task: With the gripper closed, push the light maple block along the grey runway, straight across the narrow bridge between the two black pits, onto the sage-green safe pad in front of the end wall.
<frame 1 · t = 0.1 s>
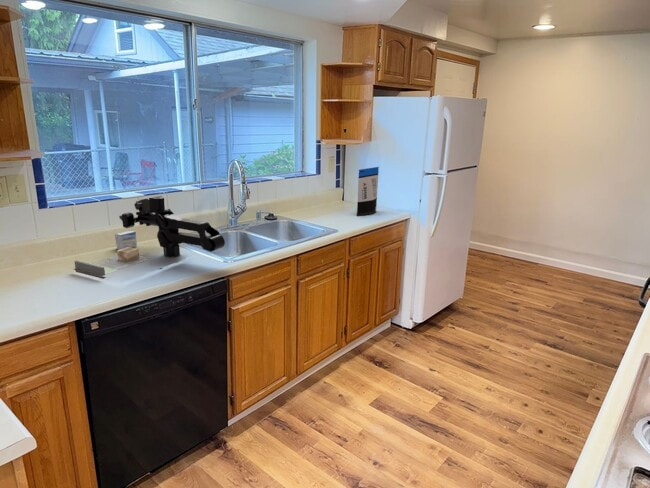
hand: (128, 215, 203), 17 cm above the worktop, tool horizontal, fingers open, 9 cm apart
protein powder: (366, 213, 297), on the worktop
maple block: (128, 258, 190), point 1 cm above the worktop, touching trap runway
medicine box: (127, 251, 206), on the worktop
trap runway: (115, 266, 185), on the worktop
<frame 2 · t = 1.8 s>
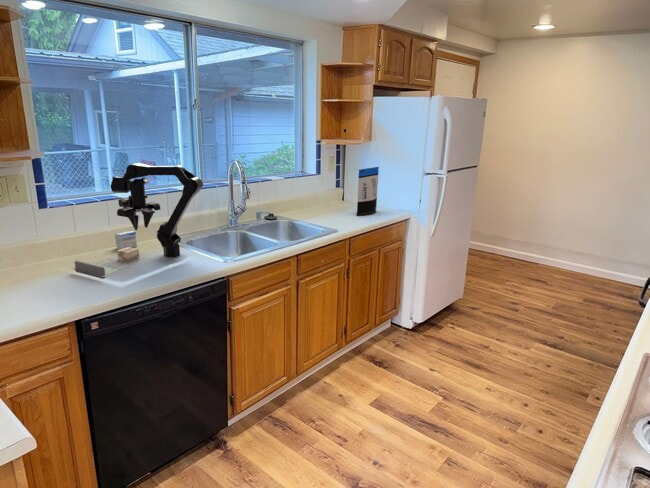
hand: (141, 228, 194), 13 cm above the worktop, tool pointing down, fingers open, 5 cm apart
nothing on the worktop moved.
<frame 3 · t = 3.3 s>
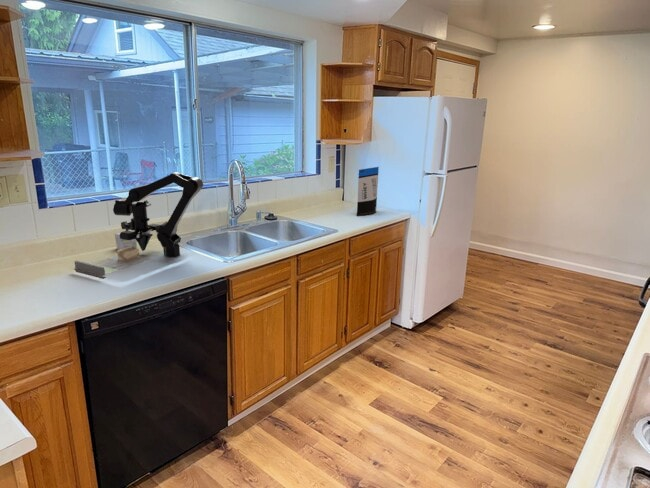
hand: (143, 250, 197), 3 cm above the worktop, tool pointing down, fingers closed
nothing on the worktop moved.
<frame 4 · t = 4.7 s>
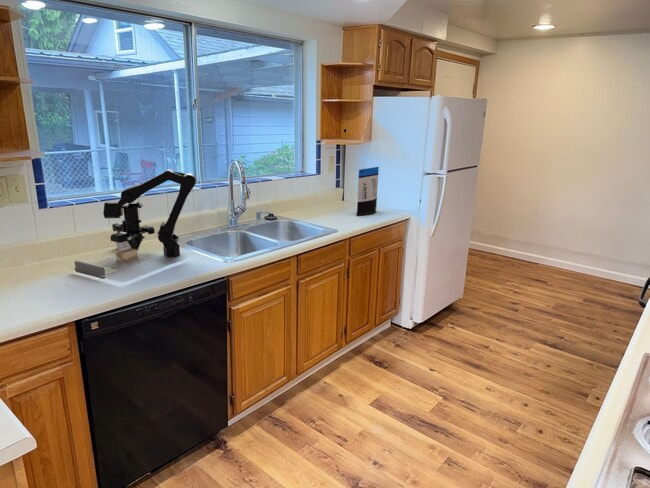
hand: (135, 252, 193), 3 cm above the worktop, tool pointing down, fingers closed
maple block: (127, 259, 189), point 1 cm above the worktop, touching gripper, trap runway
everything else where it was.
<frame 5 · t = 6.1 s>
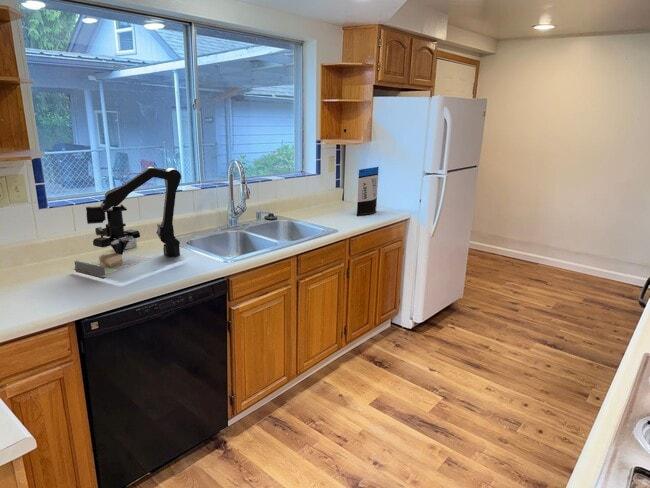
hand: (119, 257, 186), 3 cm above the worktop, tool pointing down, fingers closed
maple block: (111, 264, 182), point 2 cm above the worktop, touching gripper
everything else where it was.
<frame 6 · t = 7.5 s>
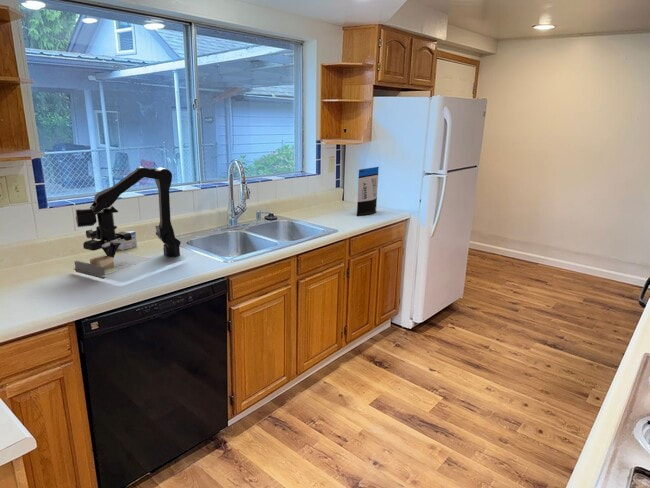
hand: (111, 260, 182), 3 cm above the worktop, tool pointing down, fingers closed
maple block: (102, 267, 179), point 1 cm above the worktop, touching gripper, trap runway
everything else where it was.
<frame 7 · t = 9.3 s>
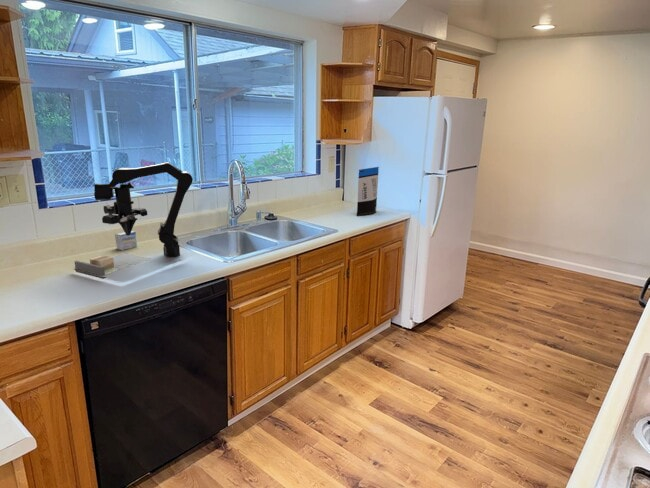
hand: (128, 235, 188), 12 cm above the worktop, tool pointing down, fingers closed
maple block: (102, 267, 179), point 1 cm above the worktop, touching trap runway
everything else where it was.
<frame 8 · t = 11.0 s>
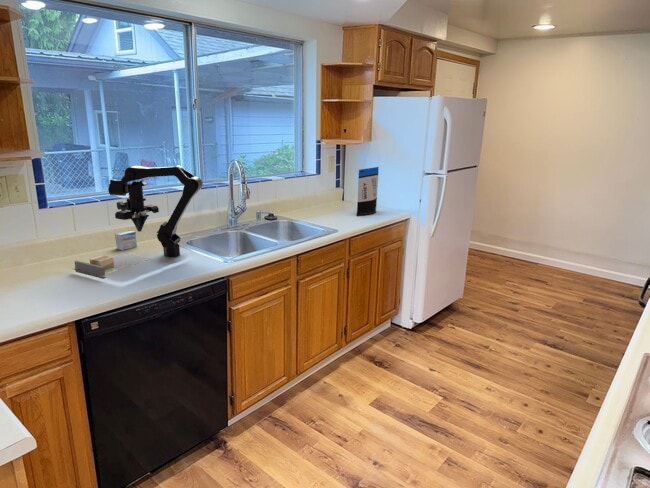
hand: (139, 231, 193), 12 cm above the worktop, tool pointing down, fingers closed
nothing on the worktop moved.
at the end: maple block 0.7 cm from the target spot, point 1.5 cm above the worktop; maple block tilted 0° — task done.
